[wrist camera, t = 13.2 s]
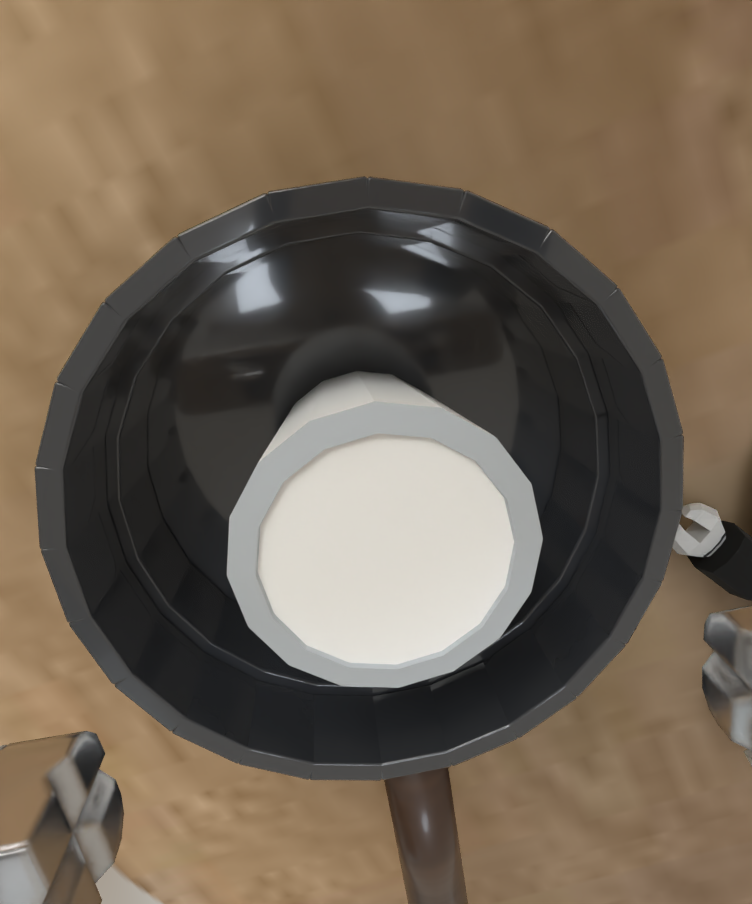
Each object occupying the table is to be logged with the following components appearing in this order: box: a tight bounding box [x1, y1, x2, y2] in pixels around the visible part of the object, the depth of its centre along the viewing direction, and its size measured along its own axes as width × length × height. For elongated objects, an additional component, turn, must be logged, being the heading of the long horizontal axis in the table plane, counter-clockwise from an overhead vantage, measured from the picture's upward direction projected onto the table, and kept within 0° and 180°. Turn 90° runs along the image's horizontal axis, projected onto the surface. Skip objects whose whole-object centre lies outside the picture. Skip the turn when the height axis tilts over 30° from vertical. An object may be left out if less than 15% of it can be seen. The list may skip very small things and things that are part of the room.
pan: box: [35, 176, 684, 781], centre depth 17 cm, size 15×15×6 cm
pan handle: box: [385, 767, 468, 904], centre depth 19 cm, size 10×2×2 cm, turn 9°
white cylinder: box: [227, 371, 543, 688], centre depth 16 cm, size 7×7×7 cm
